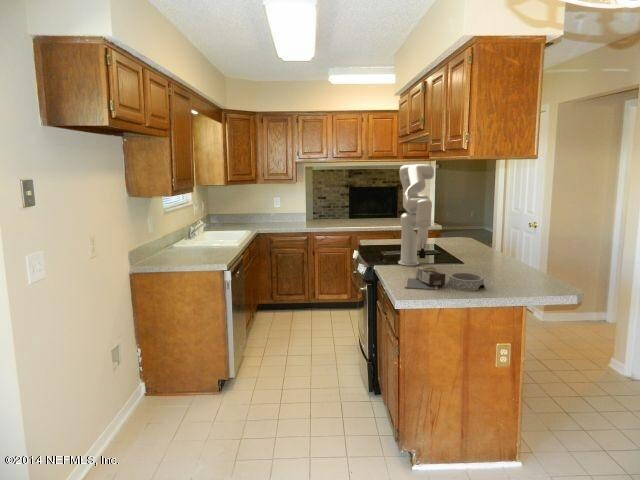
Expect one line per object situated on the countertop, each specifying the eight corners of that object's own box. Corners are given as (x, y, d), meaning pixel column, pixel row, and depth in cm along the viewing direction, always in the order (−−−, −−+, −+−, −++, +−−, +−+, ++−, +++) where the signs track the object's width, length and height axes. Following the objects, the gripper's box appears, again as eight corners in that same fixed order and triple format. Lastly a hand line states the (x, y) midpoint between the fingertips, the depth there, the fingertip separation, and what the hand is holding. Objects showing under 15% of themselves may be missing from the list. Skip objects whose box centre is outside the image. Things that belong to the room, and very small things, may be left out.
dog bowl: (490, 286, 232) (490, 276, 231) (472, 293, 219) (473, 282, 218) (459, 279, 244) (460, 270, 243) (441, 286, 232) (441, 276, 231)
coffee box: (415, 278, 243) (428, 286, 227) (415, 266, 242) (429, 274, 226) (431, 278, 245) (445, 286, 229) (431, 266, 243) (446, 273, 228)
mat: (406, 279, 245) (406, 277, 244) (436, 280, 241) (436, 279, 241) (404, 288, 227) (404, 287, 227) (437, 290, 224) (437, 289, 224)
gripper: (416, 221, 245) (415, 254, 248) (415, 225, 230) (414, 260, 233) (430, 221, 243) (429, 255, 246) (431, 225, 229) (429, 261, 232)
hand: (422, 257), depth 240 cm, fingers closed
